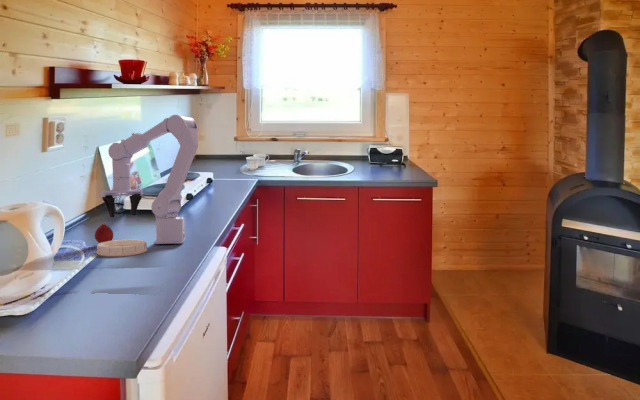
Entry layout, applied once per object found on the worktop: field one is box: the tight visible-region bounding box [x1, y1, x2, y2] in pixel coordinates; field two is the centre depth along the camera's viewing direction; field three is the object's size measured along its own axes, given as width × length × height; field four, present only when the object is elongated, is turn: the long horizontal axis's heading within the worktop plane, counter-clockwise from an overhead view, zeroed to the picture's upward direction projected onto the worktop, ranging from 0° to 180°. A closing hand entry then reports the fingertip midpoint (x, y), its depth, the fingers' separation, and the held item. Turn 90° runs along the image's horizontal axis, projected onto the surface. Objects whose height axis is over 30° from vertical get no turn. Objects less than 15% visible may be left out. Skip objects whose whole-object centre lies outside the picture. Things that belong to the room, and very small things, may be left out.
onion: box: [94, 222, 114, 244], centre depth 165 cm, size 6×6×8 cm
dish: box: [96, 239, 148, 258], centre depth 155 cm, size 15×15×3 cm
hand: (122, 216), depth 171 cm, fingers open, 7 cm apart
